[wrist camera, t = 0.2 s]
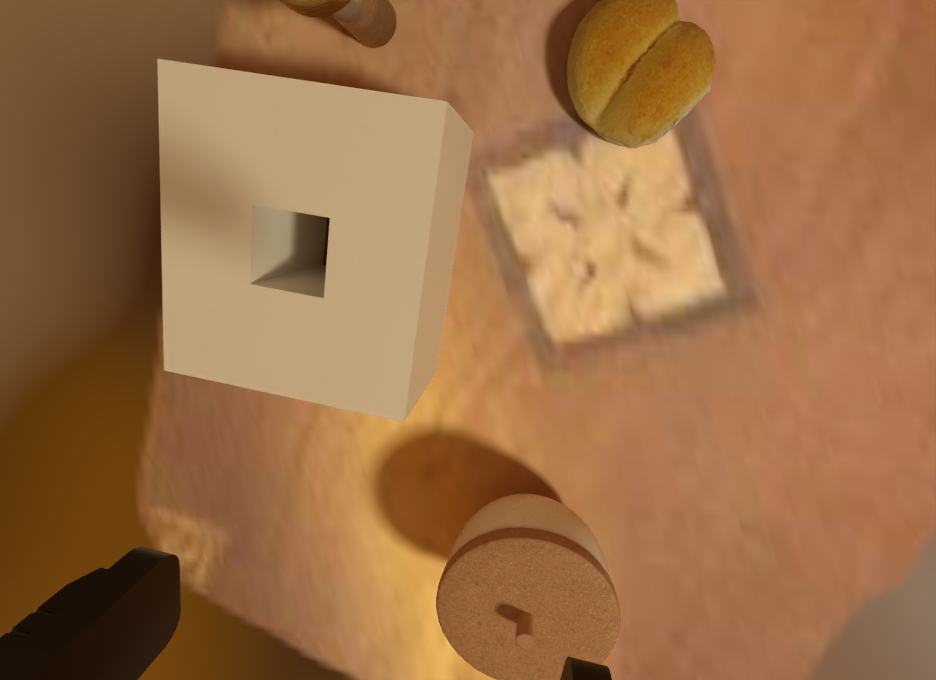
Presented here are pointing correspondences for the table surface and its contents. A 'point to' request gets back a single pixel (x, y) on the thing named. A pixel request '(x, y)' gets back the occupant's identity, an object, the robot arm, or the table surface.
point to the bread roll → (637, 69)
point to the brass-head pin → (354, 17)
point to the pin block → (307, 235)
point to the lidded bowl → (527, 591)
